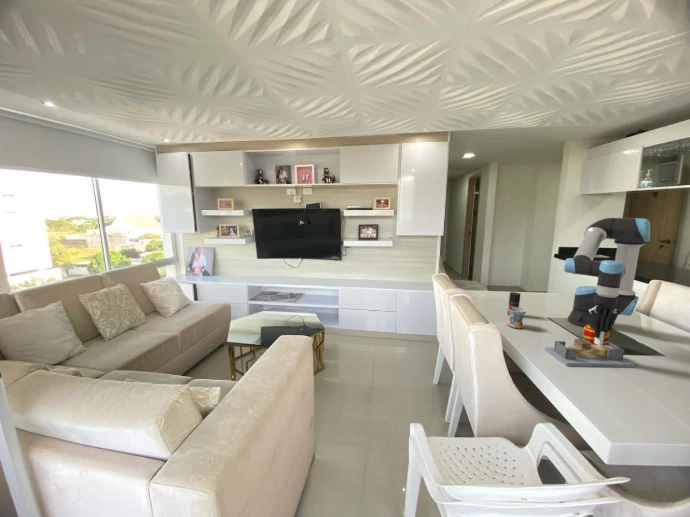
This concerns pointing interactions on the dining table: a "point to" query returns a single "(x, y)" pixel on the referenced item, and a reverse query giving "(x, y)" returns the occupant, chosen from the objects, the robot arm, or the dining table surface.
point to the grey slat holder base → (569, 358)
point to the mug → (516, 317)
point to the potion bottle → (592, 334)
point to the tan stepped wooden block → (589, 349)
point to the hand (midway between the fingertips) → (598, 344)
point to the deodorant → (514, 300)
